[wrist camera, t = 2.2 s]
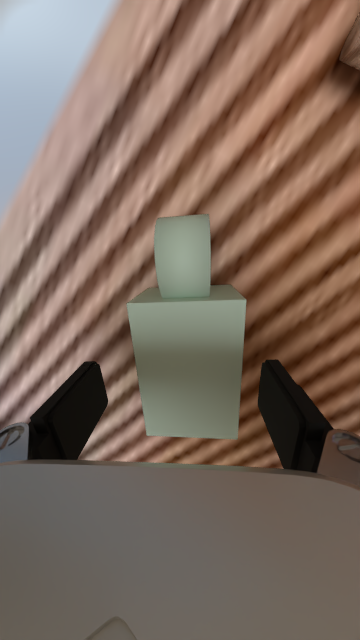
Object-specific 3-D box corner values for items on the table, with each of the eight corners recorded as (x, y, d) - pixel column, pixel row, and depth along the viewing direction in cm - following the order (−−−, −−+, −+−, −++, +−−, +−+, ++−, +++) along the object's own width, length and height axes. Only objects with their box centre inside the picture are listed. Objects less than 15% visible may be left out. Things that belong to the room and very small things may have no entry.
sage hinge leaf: (232, 219, 13) (252, 200, 8) (227, 390, 18) (237, 439, 13) (141, 226, 14) (112, 212, 9) (159, 389, 18) (146, 435, 14)
